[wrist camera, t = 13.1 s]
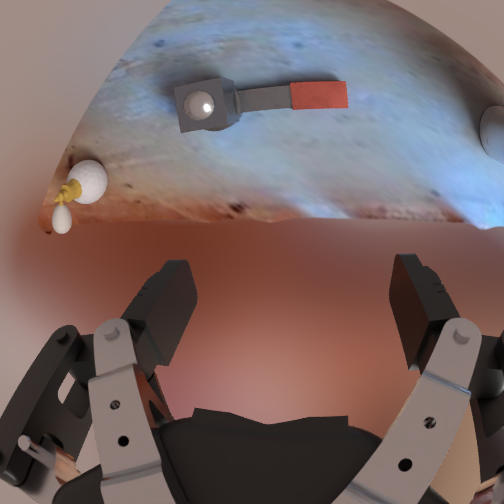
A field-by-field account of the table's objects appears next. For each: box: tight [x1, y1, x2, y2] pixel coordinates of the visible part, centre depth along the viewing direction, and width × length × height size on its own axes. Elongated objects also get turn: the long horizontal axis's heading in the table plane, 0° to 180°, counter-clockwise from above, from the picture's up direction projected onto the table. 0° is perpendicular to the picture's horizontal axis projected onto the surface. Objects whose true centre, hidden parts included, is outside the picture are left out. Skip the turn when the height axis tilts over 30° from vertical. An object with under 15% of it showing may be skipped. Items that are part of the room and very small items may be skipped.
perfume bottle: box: [52, 160, 108, 234], centre depth 38 cm, size 8×10×12 cm
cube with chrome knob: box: [173, 77, 239, 133], centre depth 30 cm, size 6×6×6 cm
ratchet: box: [205, 81, 348, 131], centre depth 31 cm, size 20×7×6 cm, turn 98°
